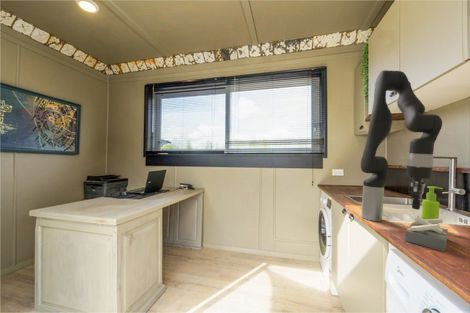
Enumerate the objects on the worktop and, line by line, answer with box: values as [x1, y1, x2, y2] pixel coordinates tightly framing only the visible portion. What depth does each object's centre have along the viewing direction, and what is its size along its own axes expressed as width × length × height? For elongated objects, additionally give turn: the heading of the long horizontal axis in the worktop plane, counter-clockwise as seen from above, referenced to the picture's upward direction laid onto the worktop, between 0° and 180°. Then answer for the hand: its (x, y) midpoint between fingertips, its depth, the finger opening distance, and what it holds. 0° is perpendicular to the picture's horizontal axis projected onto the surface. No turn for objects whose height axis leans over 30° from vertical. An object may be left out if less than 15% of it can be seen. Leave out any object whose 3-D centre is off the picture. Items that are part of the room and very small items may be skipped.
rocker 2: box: [414, 215, 444, 234], centre depth 83 cm, size 3×8×1 cm, turn 42°
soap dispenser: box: [420, 185, 444, 224], centre depth 98 cm, size 6×7×20 cm
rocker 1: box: [414, 217, 444, 224], centre depth 88 cm, size 3×8×1 cm, turn 42°
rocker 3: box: [411, 223, 441, 231], centre depth 80 cm, size 3×8×1 cm, turn 42°
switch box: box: [404, 221, 449, 252], centre depth 84 cm, size 18×11×5 cm, turn 132°
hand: (415, 208), depth 82 cm, fingers closed
